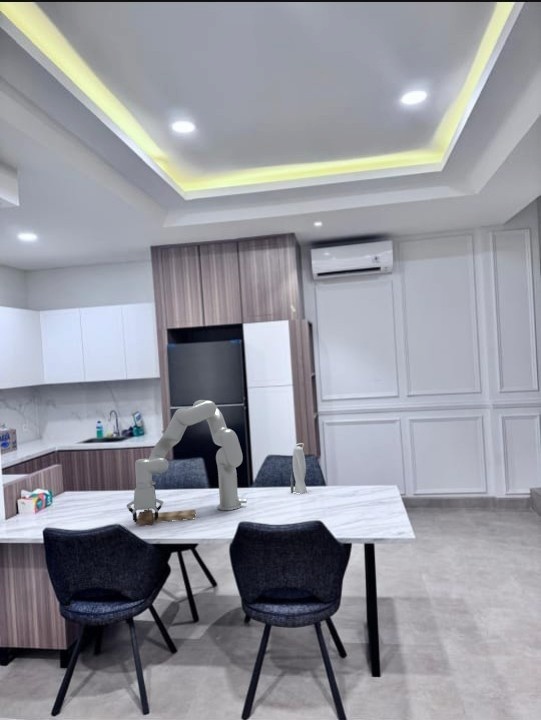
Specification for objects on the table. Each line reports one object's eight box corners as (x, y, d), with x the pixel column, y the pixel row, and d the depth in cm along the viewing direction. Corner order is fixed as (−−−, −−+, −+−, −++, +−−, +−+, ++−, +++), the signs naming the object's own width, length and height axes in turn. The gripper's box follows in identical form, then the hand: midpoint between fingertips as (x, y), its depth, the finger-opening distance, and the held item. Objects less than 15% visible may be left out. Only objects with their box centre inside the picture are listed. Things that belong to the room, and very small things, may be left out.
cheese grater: (300, 490, 284) (298, 442, 285) (310, 492, 278) (307, 443, 278) (290, 493, 278) (287, 444, 279) (299, 495, 272) (296, 445, 273)
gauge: (155, 518, 241) (154, 504, 242) (152, 525, 230) (151, 510, 231) (143, 519, 241) (142, 505, 241) (139, 526, 230) (138, 511, 230)
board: (195, 514, 245) (195, 509, 245) (194, 519, 237) (194, 514, 237) (139, 519, 242) (139, 514, 242) (136, 524, 234) (136, 518, 234)
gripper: (163, 481, 237) (165, 517, 237) (127, 484, 235) (129, 520, 235) (161, 485, 230) (163, 521, 229) (124, 488, 228) (125, 524, 228)
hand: (145, 520), depth 232 cm, fingers open, 9 cm apart
